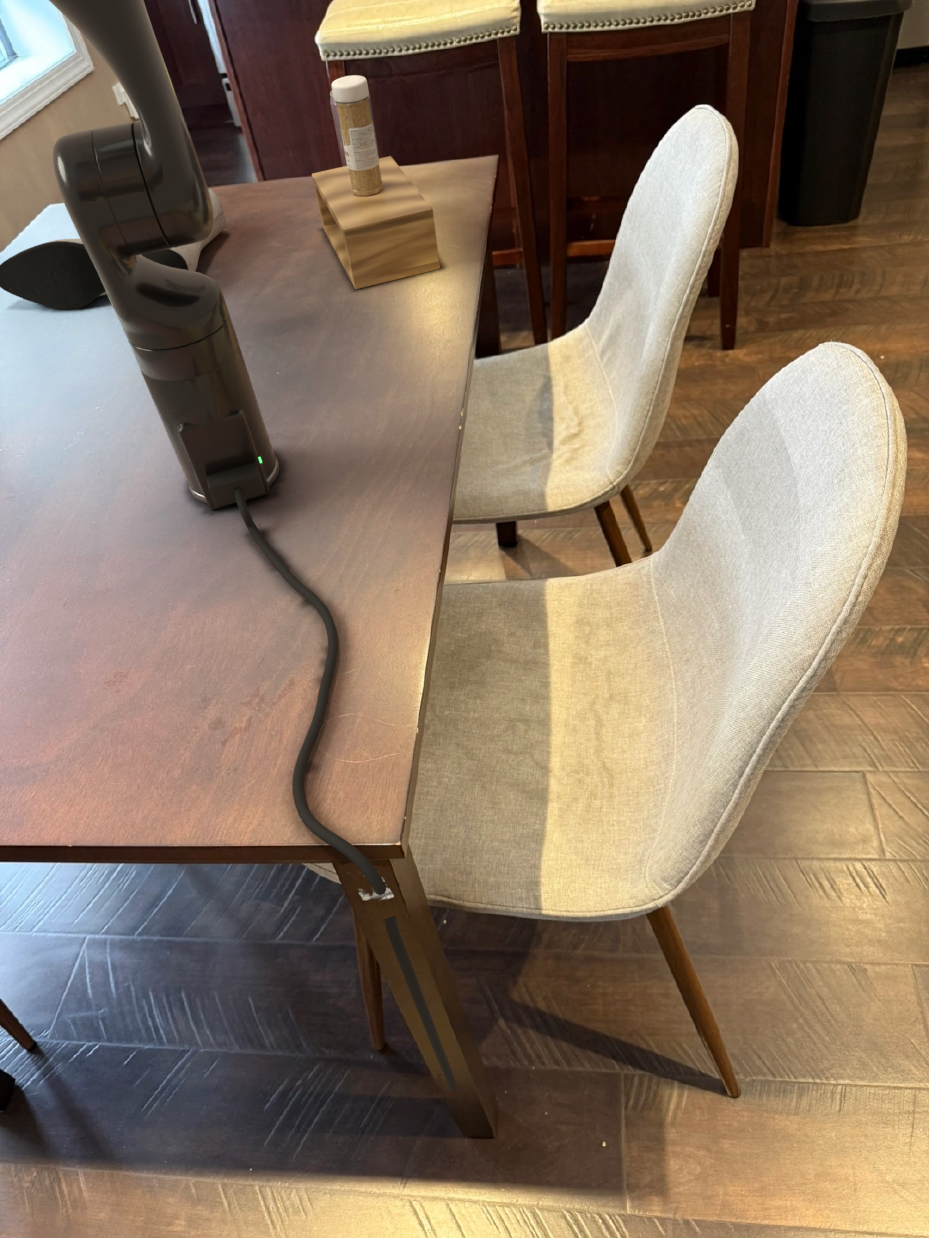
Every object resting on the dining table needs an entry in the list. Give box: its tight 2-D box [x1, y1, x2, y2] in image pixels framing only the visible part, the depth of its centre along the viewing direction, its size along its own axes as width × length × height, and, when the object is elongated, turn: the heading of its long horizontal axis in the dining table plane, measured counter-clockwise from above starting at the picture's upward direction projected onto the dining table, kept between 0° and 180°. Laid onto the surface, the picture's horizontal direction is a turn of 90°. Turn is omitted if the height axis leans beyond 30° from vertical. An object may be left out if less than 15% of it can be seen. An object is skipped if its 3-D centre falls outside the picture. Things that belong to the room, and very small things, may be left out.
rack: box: [311, 155, 441, 290], centre depth 122 cm, size 22×12×8 cm, turn 18°
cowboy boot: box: [0, 187, 227, 311], centre depth 125 cm, size 10×28×25 cm
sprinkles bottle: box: [331, 74, 384, 196], centre depth 114 cm, size 5×5×14 cm
